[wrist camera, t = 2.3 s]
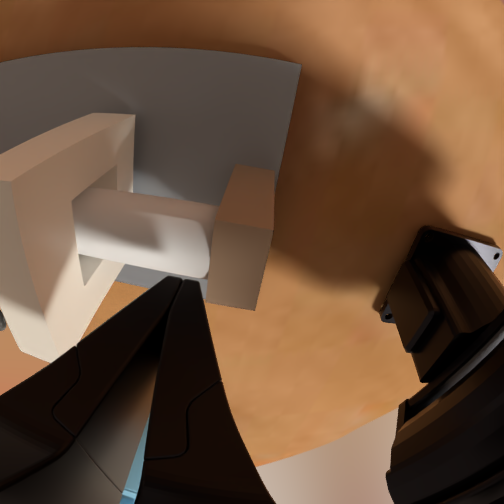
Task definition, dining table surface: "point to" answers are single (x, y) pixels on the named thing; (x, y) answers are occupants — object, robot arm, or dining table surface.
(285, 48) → the dining table surface
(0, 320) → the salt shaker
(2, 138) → the pipe stand
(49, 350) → the collar
